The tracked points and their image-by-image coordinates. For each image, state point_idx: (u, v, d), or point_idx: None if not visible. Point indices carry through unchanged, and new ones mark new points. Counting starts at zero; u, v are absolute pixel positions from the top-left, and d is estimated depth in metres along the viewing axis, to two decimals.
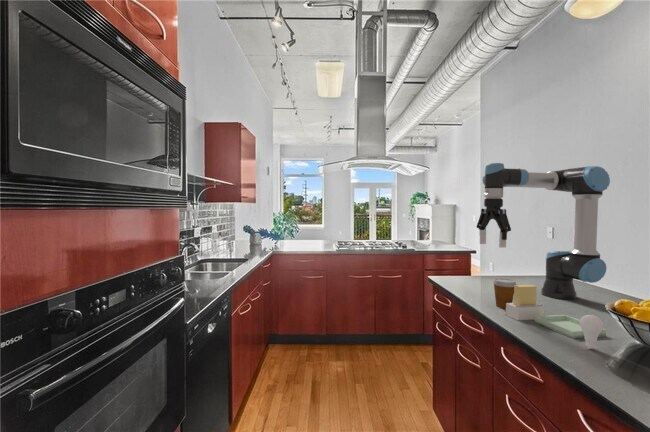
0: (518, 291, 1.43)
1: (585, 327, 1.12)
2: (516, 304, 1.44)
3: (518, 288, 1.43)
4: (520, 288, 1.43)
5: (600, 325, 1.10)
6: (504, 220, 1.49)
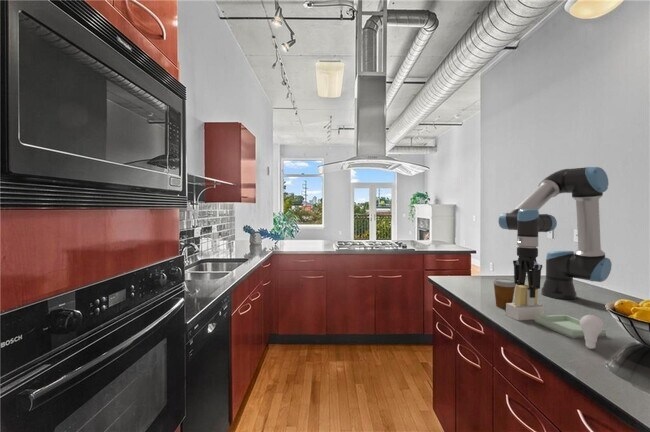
0: (520, 291, 1.42)
1: (585, 327, 1.12)
2: (517, 304, 1.44)
3: (520, 288, 1.42)
4: (522, 289, 1.42)
5: (600, 325, 1.10)
6: (536, 277, 1.38)
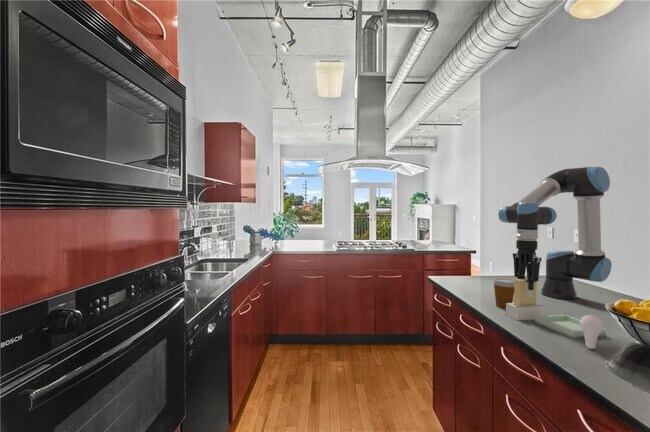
0: (518, 284, 1.43)
1: (585, 327, 1.12)
2: (516, 298, 1.44)
3: (518, 282, 1.43)
4: (520, 282, 1.43)
5: (600, 325, 1.10)
6: (535, 270, 1.39)
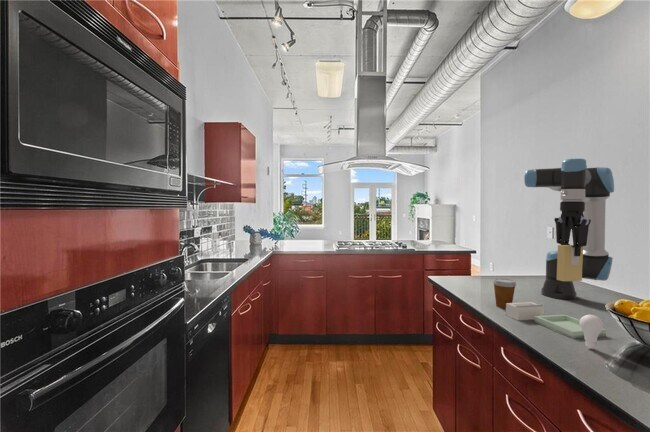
0: (563, 250, 1.29)
1: (585, 327, 1.12)
2: (560, 265, 1.30)
3: (563, 247, 1.29)
4: (565, 247, 1.28)
5: (600, 325, 1.10)
6: (583, 233, 1.25)
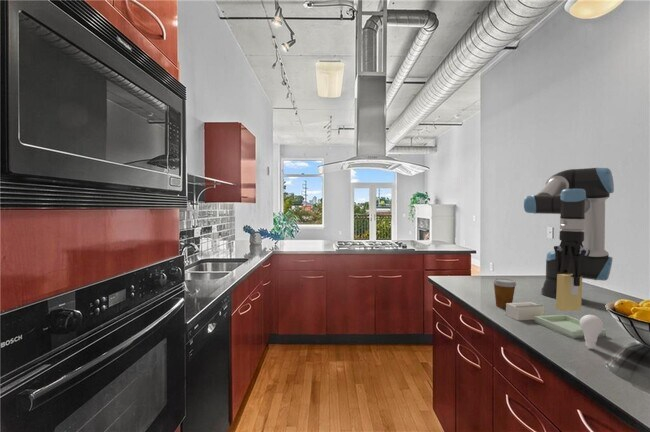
0: (562, 280, 1.29)
1: (585, 327, 1.12)
2: (559, 295, 1.30)
3: (562, 277, 1.29)
4: (565, 277, 1.29)
5: (600, 325, 1.10)
6: (582, 264, 1.25)
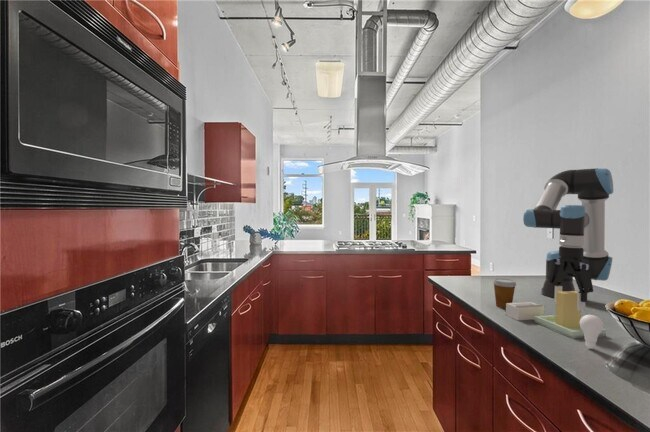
0: (562, 298, 1.29)
1: (585, 327, 1.12)
2: (559, 312, 1.30)
3: (561, 295, 1.29)
4: (564, 295, 1.29)
5: (600, 325, 1.10)
6: (586, 279, 1.24)
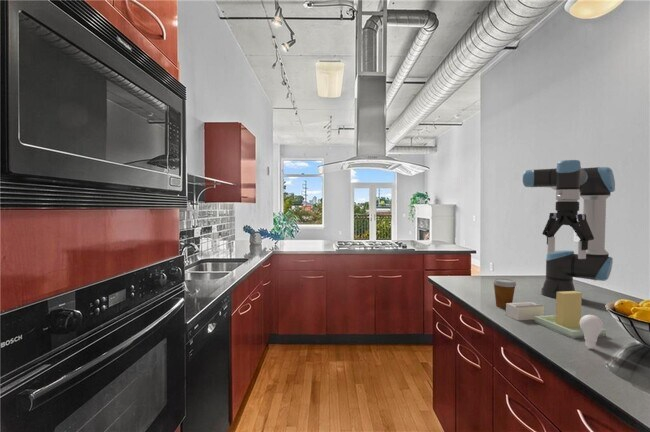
0: (562, 298, 1.29)
1: (585, 327, 1.12)
2: (559, 312, 1.30)
3: (561, 295, 1.29)
4: (564, 295, 1.29)
5: (600, 325, 1.10)
6: (585, 227, 1.27)
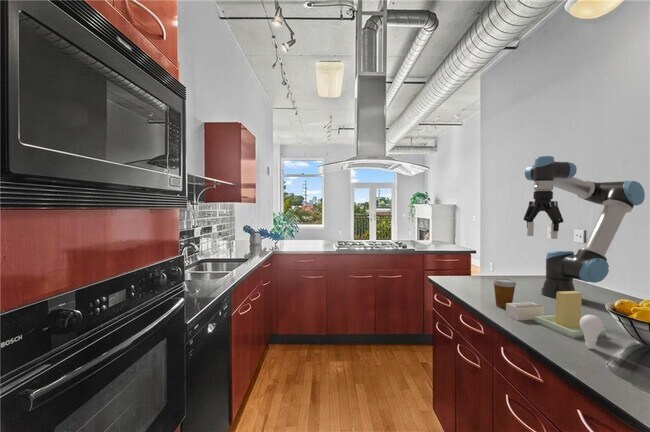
0: (562, 298, 1.29)
1: (585, 327, 1.12)
2: (559, 312, 1.30)
3: (561, 295, 1.29)
4: (564, 295, 1.29)
5: (600, 325, 1.10)
6: (556, 212, 1.52)
